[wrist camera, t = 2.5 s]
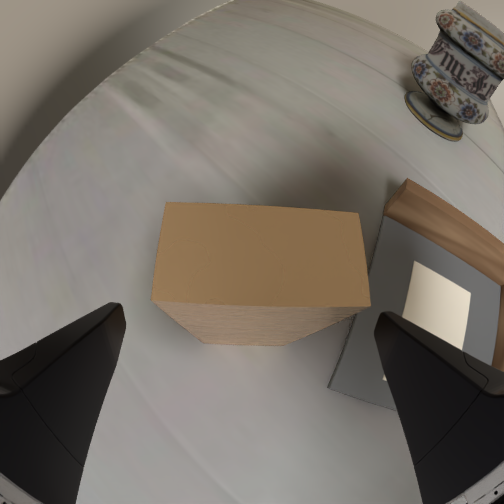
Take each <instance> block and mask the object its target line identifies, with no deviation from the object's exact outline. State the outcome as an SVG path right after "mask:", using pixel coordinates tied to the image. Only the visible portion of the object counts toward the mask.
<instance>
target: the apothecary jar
mask: <svg viewBox="0 0 504 504" xmlns="http://www.w3.org/2000/svg"><path fill="white" fill-rule="evenodd" d="M436 22H437V25H438V27H439V28H440V33H439V35H438V37H437V39H436V41H435V43H434V44H433V46H432V48H431V49H430V51H429V53H428V54H423V55H420V56H418V57H416V58H415V59H414V60H413V62H412V72H413V75H414V78H415V80H416V82H417V83H418V85H419V86H420V87H421V89H422V90H423V91H424V92H425V94H424V93H421V92H417V91H411V92H408V93H406V95H405V101H406V104H407V106H408V108H409V109H410V110H411V112H412V113H413V114H414V115H415V116H416V117H417V118H418V119H419V120H420V121H421V122H422V123H423V124H424V125H425V126H426V127H428V128H429V129H430V130H432V131H433V132H435V133H436V134H438V135H439V136H441V137H443V138H445V139H448V140H451V141H459V140H460V139H461V138H462V135H463V132H462V129H461V127H460V125H459V123H458V120H457V119H459V120H461V121H463V122H466V123H470V124H480V123H482V122H484V121H485V120H486V119H487V117H488V113H489V108H488V103H487V102H488V100H489V99H490V97H491V96H492V94H493V93H494V91H495V90H496V88H497V87H498V85H499V84H500V83H501V81H502V80H503V79H504V33H503V32H502V31H501V30H500V29H498V28H497V27H496V26H495V25H493V24H492V23H491V22H490V21H488V20H487V19H486V18H484V17H483V16H482V15H480V14H479V13H478V12H476V11H475V10H473V9H472V8H470V7H469V6H467V5H466V4H465V3H463V2H462V1H459V2H458V4H457V6H456V7H454V8H453V9H452V10H442V11H440V12H438V14H437V15H436ZM456 118H457V119H456Z"/></svg>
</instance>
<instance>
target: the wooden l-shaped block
mask: <svg viewBox="0 0 504 504" xmlns="http://www.w3.org/2000/svg"><path fill="white" fill-rule="evenodd" d="M151 301H152V302H153V303H155V304H156V305H157V306H158V307H159V308H161V309H162V310H163V311H164V312H165V313H166V314H168V315H169V316H170V317H171V318H172V319H174V320H175V321H176V322H177V323H179V324H180V325H181V326H182V327H184V328H185V329H186V330H187V331H189V332H190V333H191V334H192V335H194V336H195V337H196V338H197V339H199V340H200V341H201V342H203V343H207V344H226V345H258V346H284V345H286V344H289V343H291V342H294V341H296V340H298V339H301V338H303V337H306V336H308V335H310V334H313V333H315V332H317V331H319V330H322V329H324V328H326V327H328V326H331V325H333V324H335V323H337V322H339V321H342V320H344V319H346V318H348V317H350V316H352V315H354V314H356V313H358V312H360V311H362V310H364V309H366V308H368V307H370V306H371V302H370V292H369V282H368V273H367V265H366V257H365V250H364V243H363V236H362V230H361V224H360V218H359V213H353V212H343V211H331V210H319V209H306V208H293V207H277V206H260V205H240V204H216V203H180V202H166V205H165V210H164V215H163V221H162V226H161V232H160V238H159V244H158V250H157V257H156V264H155V271H154V279H153V287H152V295H151Z"/></svg>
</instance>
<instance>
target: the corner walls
mask: <svg viewBox="0 0 504 504" xmlns="http://www.w3.org/2000/svg"><path fill="white" fill-rule="evenodd" d="M384 215H385V216H387V217H389V218H391V219H393V220H395V221H397V222H398V223H400V224H402V225H404V226H406V227H407V228H409V229H411V230H413V231H415V232H416V233H418V234H420V235H422V236H423V237H425V238H427V239H428V240H430V241H432V242H434V243H435V244H437V245H439V246H440V247H442V248H444V249H445V250H447V251H448V252H450V253H452V254H453V255H455V256H456V257H458V258H460V259H461V260H463V261H464V262H466V263H467V264H469V265H470V266H472V267H473V268H475V269H476V270H478V271H479V272H481V273H482V274H484V275H485V276H487V277H488V278H490V279H491V280H492V281H494V282H495V283H497V284H498V285H499V286H501V292H500V308H499V319H498V328H497V335H496V342H495V349H494V355H493V360H492V365H491V366H493V367H495V368H497V369H499V370H501V371H503V372H504V244H503V243H502V242H501V241H500V240H499V239H497V238H496V237H495V236H493V235H492V234H491V233H490V232H488V231H487V230H486V229H484V228H483V227H482V226H480V225H479V224H478V223H476V222H475V221H474V220H472V219H471V218H469V217H468V216H467V215H465V214H464V213H462V212H461V211H459V210H458V209H456V208H455V207H453V206H452V205H450V204H449V203H447V202H446V201H444V200H443V199H441V198H440V197H438V196H437V195H435V194H433V193H432V192H430V191H429V190H427V189H425V188H424V187H422V186H420V185H419V184H417V183H415V182H413V181H412V180H410V179H408V178H407V179H406V180H405V181H404V183H403V184H402V185H401V186H400V188H399V189H398V190H397V191H396V193H395V194H394V195H393V196H392V198H391V199H390V200H389V201H388V202H387V204H386V205H385V209H384V213H383V216H384Z"/></svg>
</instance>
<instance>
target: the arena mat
mask: <svg viewBox="0 0 504 504" xmlns="http://www.w3.org/2000/svg"><path fill="white" fill-rule="evenodd" d="M368 282H369V292H370V302H371V306H370V307H368V308H366V309H364V310H362V311H360V312H358V313H356V315H355V318H354V321H353V323H352V326H351V329H350V332H349V335H348V337H347V340H346V343H345V346H344V348H343V351H342V353H341V356H340V359H339V361H338V364H337V366H336V369H335V371H334V373H333V376H332V378H331V381H330V383H329V385H328V387H327V388H329V389H332V390H335V391H337V392H340V393H343V394H346V395H349V396H352V397H355V398H358V399H361V400H364V401H367V402H370V403H373V404H376V405H380V406H383V407H386V408H390V409H393V410H396V411H397V409H396V406H395V403H394V400H393V397H392V394H391V391H390V388H389V386H388V383H387V380H386V377H385V374H384V371H383V368H382V365H381V361H380V357H379V353H378V349H377V346H376V342H375V338H374V329H375V326H376V323H377V320H378V317H379V315H380V313H381V312H384V311H392V312H394V313H396V314H397V315H399V316H401V317H403V318H405V319H407V320H408V321H410V322H412V323H414V324H416V325H418V326H419V327H421V328H423V329H425V330H427V331H428V332H430V333H432V334H434V335H436V336H437V337H439V338H441V339H443V340H445V341H446V342H448V343H450V344H452V345H453V346H455V347H457V348H459V349H461V350H462V352H463V351H464V352H466V353H468V354H470V355H471V356H473V357H475V358H477V359H479V360H481V361H483V362H485V363H487V364H489V365H492V360H493V355H494V349H495V342H496V335H497V328H498V319H499V308H500V292H501V286H499V285H498V284H497V283H495V282H494V281H492V280H491V279H490V278H488V277H487V276H485V275H484V274H482V273H481V272H479V271H478V270H476V269H475V268H473V267H472V266H470V265H469V264H467V263H466V262H464V261H463V260H461V259H460V258H458V257H456V256H455V255H453V254H452V253H450V252H448V251H447V250H445V249H444V248H442V247H440V246H439V245H437V244H435V243H434V242H432V241H430V240H428V239H427V238H425V237H423V236H422V235H420V234H418V233H416V232H415V231H413V230H411V229H409V228H407V227H406V226H404V225H402V224H400V223H398V222H397V221H395V220H393V219H391V218H389V217H387V216H385V215H384V217H383V218H382V222H381V227H380V231H379V235H378V239H377V243H376V247H375V251H374V255H373V259H372V262H371V266H370V270H369V273H368Z"/></svg>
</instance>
